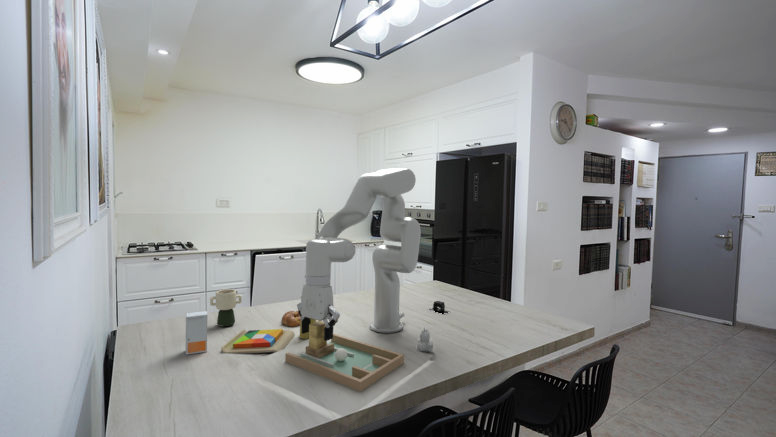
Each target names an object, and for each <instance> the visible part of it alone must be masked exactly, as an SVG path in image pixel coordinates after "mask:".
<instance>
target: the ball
mask: <svg viewBox="0 0 776 437" xmlns="http://www.w3.org/2000/svg"><path fill="white" fill-rule="evenodd" d="M335 358H336V360H338V361H344V360H345V359H346V358H347V352H346V350H345V349H343V348H340V349H338V350H337V351H336V352H335Z"/></svg>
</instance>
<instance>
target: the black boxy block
mask: <svg viewBox="0 0 776 437" xmlns="http://www.w3.org/2000/svg"><path fill="white" fill-rule="evenodd" d="M432 304H433V305H432V306H433V307H432V309H431V308H429V310H430V311H429V312H432V311H435V312H434V313H436V312H438V313H437V314H439V313H442V314H441V315H443V314H444V313H447V314H449V313H448V312H450V311H449V310H446V309H445V308H446V306H445V305H446V304H445V301H440V300H436V301H433V303H432ZM444 315H445V314H444Z"/></svg>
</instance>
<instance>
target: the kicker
mask: <svg viewBox="0 0 776 437" xmlns="http://www.w3.org/2000/svg"><path fill="white" fill-rule="evenodd" d="M325 327H326V326H325V324H324V322H323V320H322V321H318V320H316V322H315V323H312V324H309V339H308V345H307V346H305V353H306V354H309V355H312V356H314V357H316V358H318V359H319V358H321V357H324V356H326V355H328V354H330V353H332V352H334V343H330V344H327V343H328V341H325V340H324V328H325Z"/></svg>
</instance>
